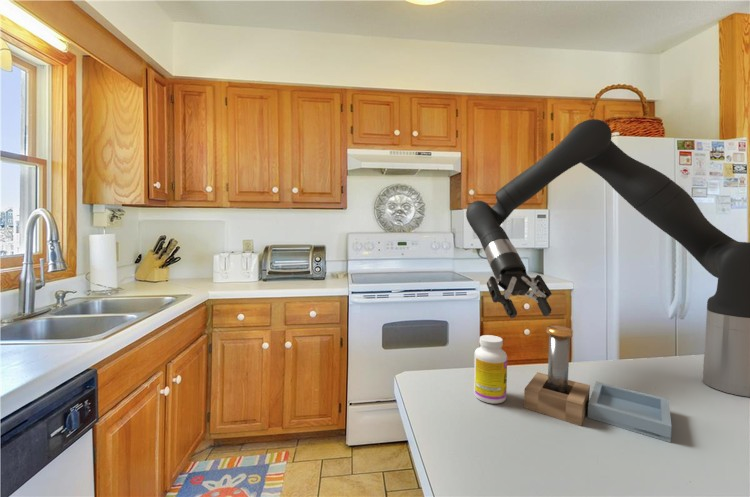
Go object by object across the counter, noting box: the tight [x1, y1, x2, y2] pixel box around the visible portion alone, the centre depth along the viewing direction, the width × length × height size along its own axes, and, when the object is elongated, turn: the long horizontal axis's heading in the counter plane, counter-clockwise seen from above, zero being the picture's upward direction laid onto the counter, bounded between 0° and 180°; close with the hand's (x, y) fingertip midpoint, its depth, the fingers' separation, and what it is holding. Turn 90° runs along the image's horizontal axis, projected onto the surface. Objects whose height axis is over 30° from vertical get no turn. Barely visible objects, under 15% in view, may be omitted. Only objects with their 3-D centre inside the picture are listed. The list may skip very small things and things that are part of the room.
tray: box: [587, 381, 672, 444], centre depth 66 cm, size 12×12×3 cm
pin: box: [546, 325, 574, 394], centre depth 69 cm, size 5×5×16 cm
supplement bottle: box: [473, 334, 508, 405], centre depth 72 cm, size 7×7×13 cm
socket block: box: [523, 372, 591, 427], centre depth 69 cm, size 10×10×4 cm
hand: (531, 315), depth 77 cm, fingers open, 8 cm apart
